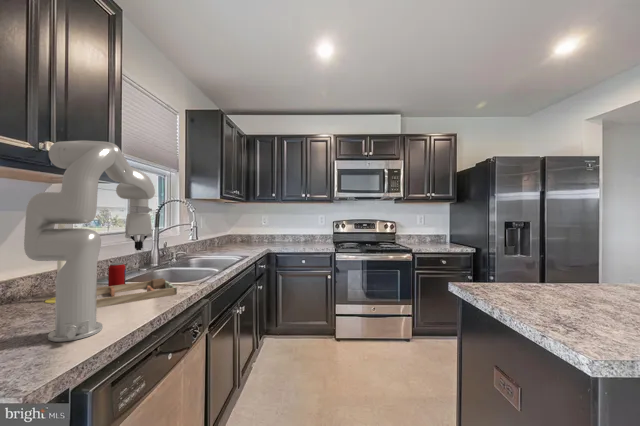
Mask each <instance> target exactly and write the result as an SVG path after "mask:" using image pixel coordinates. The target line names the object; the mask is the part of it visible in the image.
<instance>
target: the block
mask: <svg viewBox="0 0 640 426" xmlns="http://www.w3.org/2000/svg"><path fill="white" fill-rule="evenodd" d="M165 280H166V279H164V278H163V277H161V278H153V279H151V280H150V281H151V287H152V288H153V289H154V290H161V289H166V288H165Z"/></svg>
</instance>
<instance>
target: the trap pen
mask: <svg viewBox="0 0 640 426" xmlns="http://www.w3.org/2000/svg"><path fill="white" fill-rule="evenodd" d="M143 289H146V291H141V292H136V293H129V294H123V295H121V294H120V295H116V293H121V292H127V291H136V290H143ZM177 293H178V287H177V286H175V284H172V283H171V282H169V281H168V280H166V279H165V288H161V289H153V288H152V287H151V280H149V281H147V280H146V281H141V282H140V281H139V282H133V283H132V282H131V283H125V284H123V285H115V286H108V285H107V286H101V287H97V296H101V295H106V294H107V295H108V294H110V296H109V297H103V298H102V297H101V298H97V306H96V309H97V308H102V307H109V306H114V305H120V304H126V303H132V302H137V301H138V302H139V301H145V300H151V299H156V298H157V299H158V298H163V297H170V296H175V295H177Z"/></svg>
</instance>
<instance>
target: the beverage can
mask: <svg viewBox="0 0 640 426" xmlns="http://www.w3.org/2000/svg"><path fill="white" fill-rule="evenodd" d="M126 268H127V267H126V265H125V263H124V262H114V263H110V265H109V266H108V269H107V270H108V272H107V273H108V279H107V280H108V282H107V283H108V285H107V287H108V286H115V285H123V284H126V275H127V274H126V271H127V270H126Z"/></svg>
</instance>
